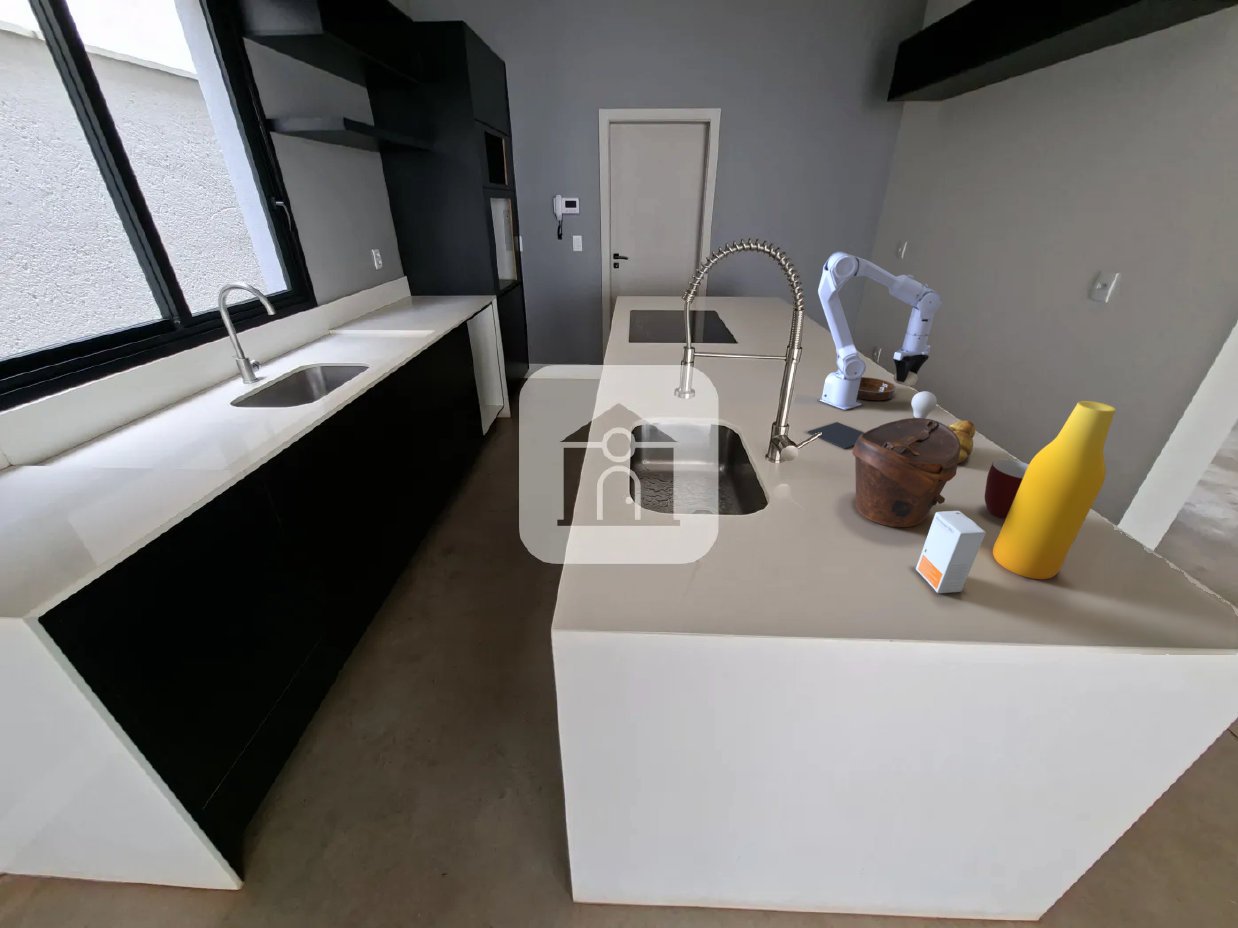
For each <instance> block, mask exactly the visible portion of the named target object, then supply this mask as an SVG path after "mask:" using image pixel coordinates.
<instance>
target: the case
mask: <svg viewBox="0 0 1238 928" xmlns="http://www.w3.org/2000/svg"><path fill="white" fill-rule="evenodd" d="M947 426H948V425H945V424H944V423H942V422H940V421H937V420H934V419H931V418H914V417H910V418H909V417H908V418H903V419H898V420H894V421H890V422H886V423H883V424H881V425H878V426H876V427H874V428H871V429H869V430H867V431H865V432H863V434H861V435H860V436H859V437H858V439H857V441H856V443H855V445H854V446H853V447H852V452H851V454H852V455H853V456H854V457H855V463H854V464H855V465H854V467H855V468H854V469H855V470H854V471H855V473H854V475H855V506H856V509H857V511H858V513H860V515H862V517H864V518H866V519H867V520H868V521H871V522H874V523H875V524H878V525H883V526H887V527H892V528H910V527H914V526H917V525H919V524H921V523H923V522H924V521H925V519H926V518H927V516H928V514H929V513H930V511H931V509H932V508H933V507H934V506H936V505H937V504H939V505H940V504H944V503H945V500H946V499H945V497H944V496H943V495H942V494H941V493H942V491H943V489H944V488H945V487H946V484H947V483H948V482H949V481H951V480H952V479H954V478H955V476H956V475H957V469H958V464H959V463H958V459H959V455H960V451H961V444H960V441H959V439H958V437H957V436H956V434H955V433H954V432H953V431H952V430H951V429H950V428H948V427H947Z"/></svg>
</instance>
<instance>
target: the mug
mask: <svg viewBox="0 0 1238 928" xmlns="http://www.w3.org/2000/svg"><path fill="white" fill-rule="evenodd" d="M1029 464H1030V463H1027V462H1023V461H1020V460H1013V459H997V460H994V461H993V462H992V463H991V465H990V467H989V470H988V473H987V477H986V482H985V483H986V484H985V490H984V503H985V506H986V510H987V512H989V514H991V515H992V516H995V517H998V518H1001V519H1002V518H1003V519H1006V517H1007V515H1008V513H1009V510H1010V508H1011V506H1012V503H1013V501H1014V499H1015V496H1016V494H1017V491H1018V489H1019V487H1020V484H1021V482H1022V480H1023V477H1024V475H1025V472H1026V470H1027V468H1028V466H1029Z"/></svg>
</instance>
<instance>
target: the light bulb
mask: <svg viewBox="0 0 1238 928" xmlns="http://www.w3.org/2000/svg"><path fill="white" fill-rule="evenodd" d="M910 402H911V403H910V405H911V408H912V411H913V418H925V419H927V417H928V416H929V414H930V413H931V412H932V411H933V410H934V409H935V408H936V406H937V403H938V399H937V397H936V395H935V394H934V393H933V392H930V391H927V390H926V391H925V390H924V391H920V392H917V393H916V394H914V396H912V398H911V401H910Z"/></svg>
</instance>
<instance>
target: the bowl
mask: <svg viewBox="0 0 1238 928" xmlns="http://www.w3.org/2000/svg"><path fill="white" fill-rule="evenodd" d="M896 390H897V386H896V385H895V384H894V383H892V382H890V381H887V380H884V379H880V378H875V377H867V376H862V377H861V381H860V386H859V390H858V395H857V399H861V400H866V401H885V400H890V399H892V398H893V397H895V393H896Z"/></svg>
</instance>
